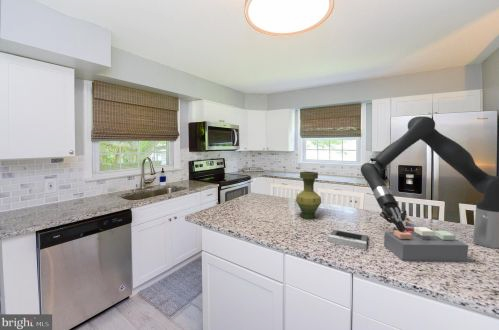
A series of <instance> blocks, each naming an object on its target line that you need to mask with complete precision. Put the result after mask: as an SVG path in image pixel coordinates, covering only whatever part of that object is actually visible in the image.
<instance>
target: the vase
mask: <svg viewBox="0 0 499 330" xmlns="http://www.w3.org/2000/svg"><path fill="white" fill-rule="evenodd" d="M299 178H300V179H302V181H303V190H302V191H301V192H299V193H298V194H297V195H296V197H295V198H296V199H295V202H296V204H297V206H298V208H299V209H300V211H301V215H300V218H301V219H303V220H308V221H309V220H310V221H311V220H315V219H316V211H317V210H318V208H319V207H320V205H321V204H322V197H321V196H320V195H319V194H318V193H316V191H314V184H315V181H316V180H317V179H318V178H319V173H318V172H317V171H300V173H299Z"/></svg>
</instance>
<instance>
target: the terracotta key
mask: <svg viewBox="0 0 499 330" xmlns="http://www.w3.org/2000/svg"><path fill="white" fill-rule="evenodd" d="M394 235H395V236H397V237H398V238H399V239H401V240H408V239H412V234H411V233H409V232H407V231H406V230H405V231H403V232H400V231H399V230H394Z"/></svg>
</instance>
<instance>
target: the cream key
mask: <svg viewBox="0 0 499 330" xmlns="http://www.w3.org/2000/svg"><path fill="white" fill-rule="evenodd" d="M414 232H416V233H418V238H420V239H422V240H429V238H430V236H434V232H435V230H432V229H430V228H429V227H426V226H422V227H421V226H414Z"/></svg>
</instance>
